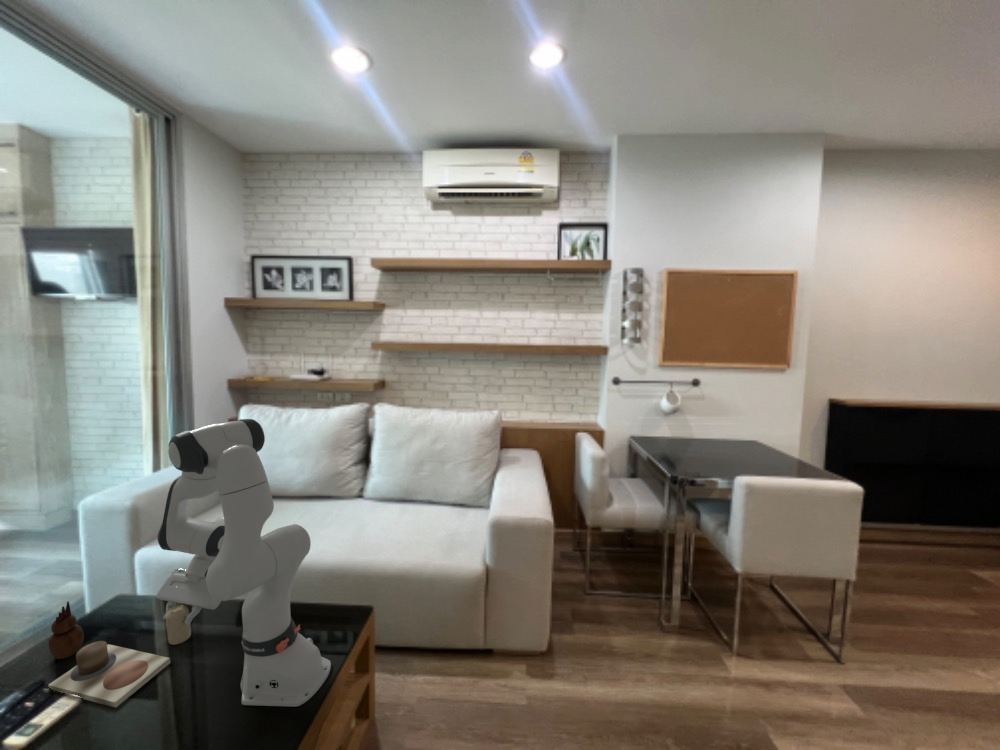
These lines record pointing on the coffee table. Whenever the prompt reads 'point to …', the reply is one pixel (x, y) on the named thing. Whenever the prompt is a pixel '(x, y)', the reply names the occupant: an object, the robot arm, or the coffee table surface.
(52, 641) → the wooden figurine
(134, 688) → the board
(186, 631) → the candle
